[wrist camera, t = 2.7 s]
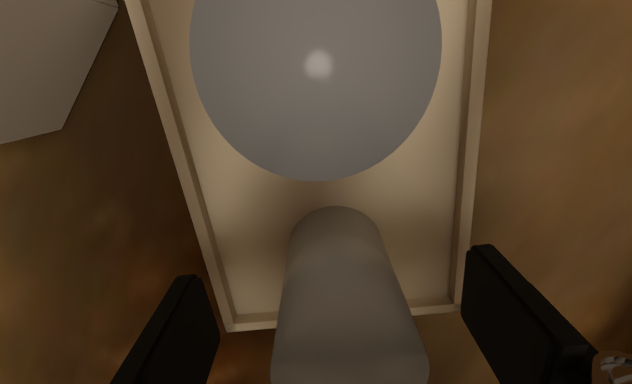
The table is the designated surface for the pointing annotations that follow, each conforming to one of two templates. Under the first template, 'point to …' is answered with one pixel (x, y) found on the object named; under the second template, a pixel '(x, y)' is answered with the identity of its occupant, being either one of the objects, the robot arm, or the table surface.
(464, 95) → the tray
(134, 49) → the table surface
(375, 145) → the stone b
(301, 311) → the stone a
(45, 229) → the table surface
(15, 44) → the bowl
